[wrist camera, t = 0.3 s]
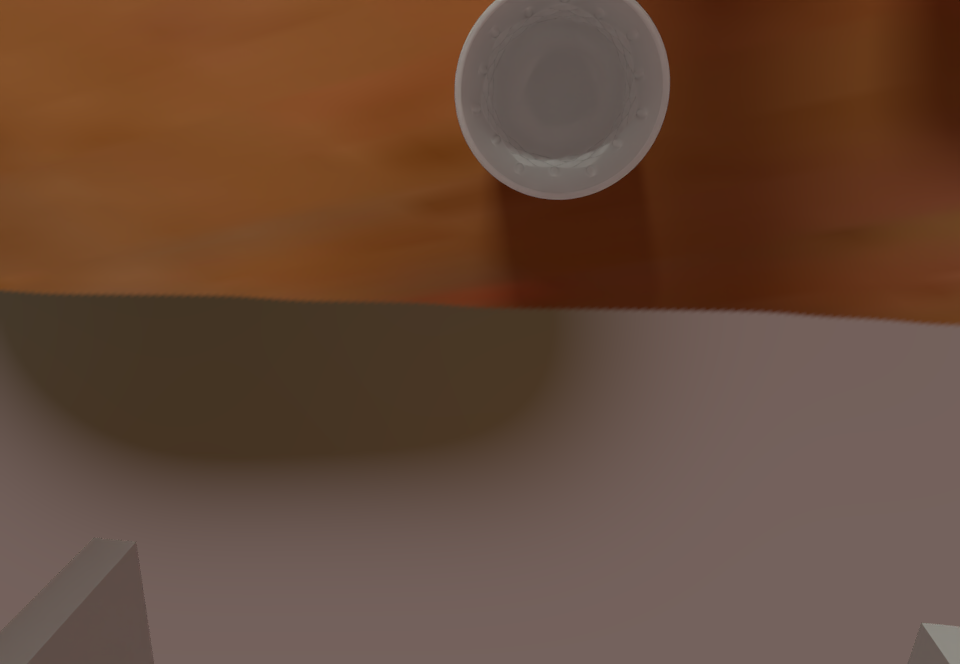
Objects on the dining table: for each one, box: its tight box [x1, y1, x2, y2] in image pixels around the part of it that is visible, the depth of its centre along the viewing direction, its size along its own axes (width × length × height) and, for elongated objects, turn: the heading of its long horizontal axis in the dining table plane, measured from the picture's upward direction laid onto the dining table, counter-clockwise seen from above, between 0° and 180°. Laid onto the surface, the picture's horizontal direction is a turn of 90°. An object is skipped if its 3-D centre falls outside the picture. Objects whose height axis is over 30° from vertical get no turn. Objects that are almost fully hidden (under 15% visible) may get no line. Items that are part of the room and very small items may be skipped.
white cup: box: [455, 0, 670, 200], centre depth 30 cm, size 8×8×10 cm
